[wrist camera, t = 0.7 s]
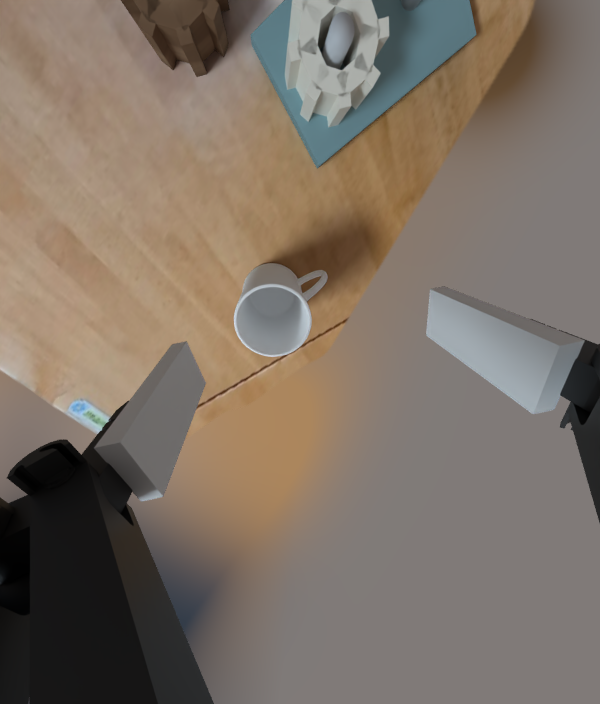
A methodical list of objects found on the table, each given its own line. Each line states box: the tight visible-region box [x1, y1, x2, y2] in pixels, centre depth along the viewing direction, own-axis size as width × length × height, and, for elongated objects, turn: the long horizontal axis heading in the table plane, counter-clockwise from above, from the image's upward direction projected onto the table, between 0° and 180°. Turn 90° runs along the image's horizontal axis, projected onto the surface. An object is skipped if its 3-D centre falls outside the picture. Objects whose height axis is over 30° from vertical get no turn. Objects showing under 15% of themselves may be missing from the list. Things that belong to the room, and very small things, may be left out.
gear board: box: [251, 0, 476, 168], centre depth 22 cm, size 12×19×8 cm, turn 125°
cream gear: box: [285, 0, 389, 127], centre depth 23 cm, size 8×8×5 cm
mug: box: [234, 263, 328, 357], centre depth 31 cm, size 12×8×12 cm
